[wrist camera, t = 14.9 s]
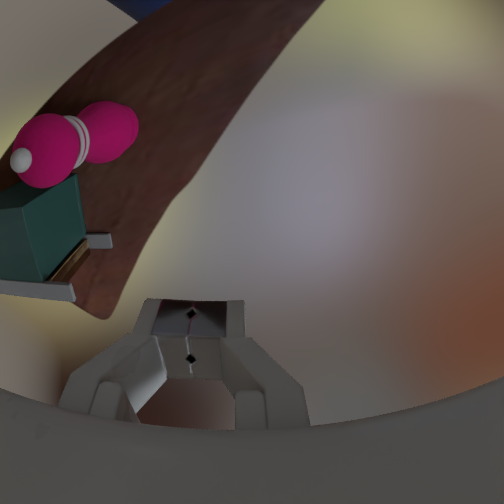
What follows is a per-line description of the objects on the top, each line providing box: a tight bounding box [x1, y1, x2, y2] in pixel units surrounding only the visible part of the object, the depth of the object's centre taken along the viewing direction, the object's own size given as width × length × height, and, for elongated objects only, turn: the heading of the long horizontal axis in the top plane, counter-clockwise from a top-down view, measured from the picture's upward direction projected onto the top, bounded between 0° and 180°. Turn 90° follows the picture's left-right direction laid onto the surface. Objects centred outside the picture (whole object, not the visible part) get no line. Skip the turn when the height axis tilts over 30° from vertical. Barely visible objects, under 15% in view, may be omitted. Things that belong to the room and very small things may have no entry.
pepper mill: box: [10, 101, 139, 188], centre depth 23 cm, size 7×7×20 cm
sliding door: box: [45, 238, 90, 283], centre depth 33 cm, size 2×7×11 cm, turn 88°
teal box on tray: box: [0, 174, 113, 302], centre depth 31 cm, size 11×15×13 cm
